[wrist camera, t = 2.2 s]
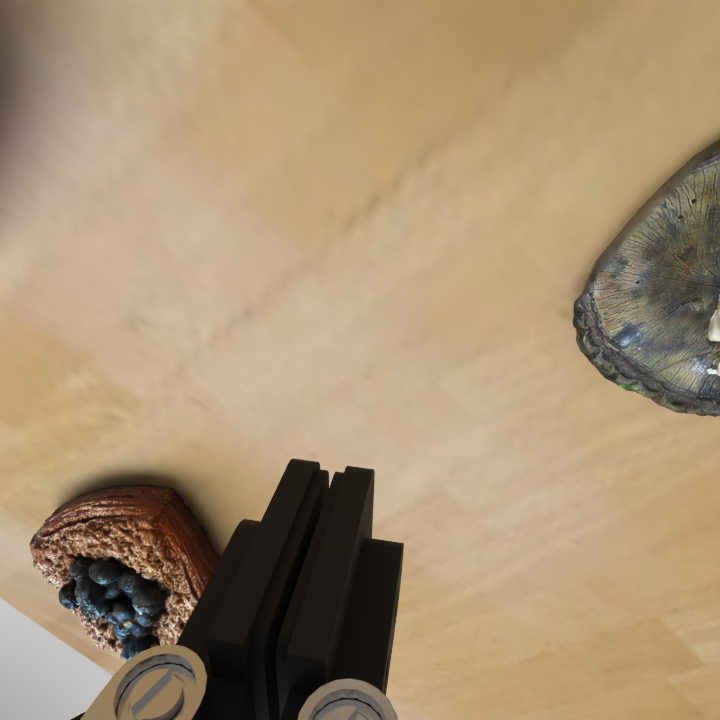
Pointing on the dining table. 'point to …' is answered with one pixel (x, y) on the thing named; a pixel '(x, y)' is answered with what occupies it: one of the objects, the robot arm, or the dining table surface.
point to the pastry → (126, 564)
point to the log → (662, 295)
